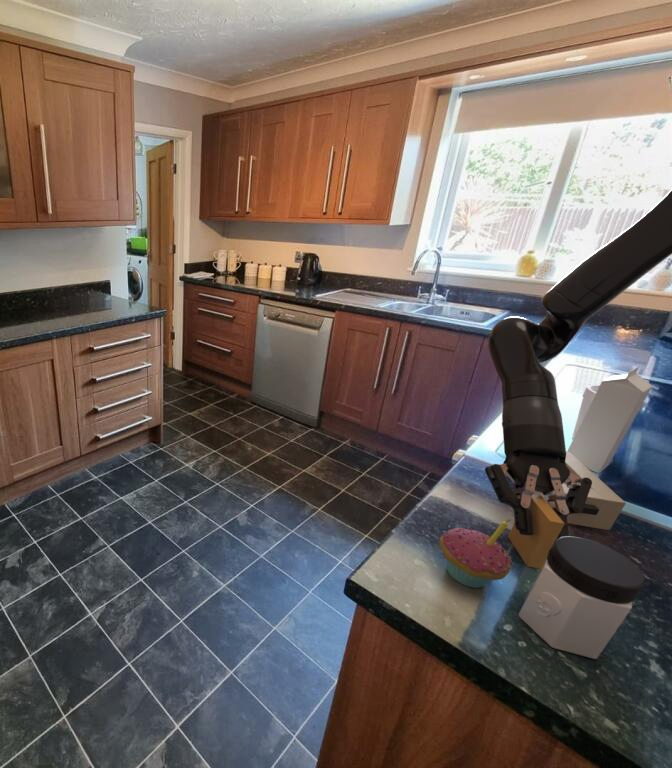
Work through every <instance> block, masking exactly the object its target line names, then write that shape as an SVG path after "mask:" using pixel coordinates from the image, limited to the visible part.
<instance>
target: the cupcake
mask: <svg viewBox="0 0 672 768" xmlns="http://www.w3.org/2000/svg"><path fill="white" fill-rule="evenodd" d="M511 520H512V518H508V519H507V520H503V521H502V522H501V523H500V525H499V526H498V527H497V529H496V530H495V531H494V532H493V533H492V534H491V536H490V535H488V534H487V533H484V532H481V531H478V530H475V529H470V528H467V527H453V528H451V529H449V530H446V531H445V532H443V534H442V535H441V536H440V538H439V541H438V543H439V548H440V550H441V552H442V555H443V557H444V558H445V561H446V571H447V573H448V574H449V576H450V577H451V578H452V579H454V581H456V582H458V583H459V584H461V585H463V586H466V587H469V588H472V589H478V588H482V587H483V586H485V585H486V584H488V583H489V582H490V581H491V580H492V581H493V580H495V581H499V580H503V579H505V578H506V577H507V575H509V573H510V570H511V568H512V566H513V564H512V562H513V559H512V556H510V554H508V551H507V550H506V549H505V547H504V546H502V544H500V543H499V542H498V541H497V540H498V538H499V537H500V536H501V535H502V534H503V532H504V531H505V530H506V528H508V526H509V522H510V521H511Z"/></svg>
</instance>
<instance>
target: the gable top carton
mask: <svg viewBox="0 0 672 768" xmlns="http://www.w3.org/2000/svg"><path fill="white" fill-rule="evenodd" d="M599 386H600V384H588V385H586V387H585V389H584V391H583V393H582V395H581V396H582V399H581V403H580V407H579V410H578V414H577V418H576V421H575V425H574V429H573V432H572V437H571V439H572V440H573V439H574V437H575V435H576V433H577V431H578V429H579V427H580V425H581V423H582V421H583V419H584V417H585V415H586V413H587V411H588V409H589V407H590V404H591V402H592V400H593V398H594V396H595V394H596V392H597V390H598V388H599ZM646 401H647V398H646V399H645V401H644V402H643V404H642V406H641V408H640V410H639V411H638V413H639V412H640V411H641V410H642V409H643V407H644V406H645V404H646Z"/></svg>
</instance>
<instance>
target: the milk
mask: <svg viewBox="0 0 672 768" xmlns="http://www.w3.org/2000/svg"><path fill="white" fill-rule="evenodd" d="M639 368H640V366H639V365H638V366H636V367H634V368H633V369H630V371H629V372H628V373H623V374H622V373H621V374H615V375H611V376H609V377H607V378H605V379H604V380H603V379H602V380H601V382H600V384H599V385H600V386H599V388H598V390H597V392H596V394H595V396H594V398H593V400H592V402H591V404H590V407H589V409H588V411H587V413H586V415H585V417H584V419H583V421H582V423H581V425H580V427H579V429H578V431H577V433H576V435H575V437H574V439H572V441H571V443H570V445H569V447H568V449H567V450H566V452H570V453H571V454H572V455H573V456H575V457H576V458H577V459H578V460H579V461H580V462H581V463H582V464H583V465H584V466H586V467H587V468H588V469H589V470H590V471H591V472H595V473H597V474H601V472H602V471H604V470H605V469H606V468H607V467H608V466H609V465H610V464H611V462H612V461H613V458H614V457H615V455H616V453H617V451H618V450H619V447H620V446H621V444H622V442H623V440H624V439H625V437H626V436H627V433H628V431H629V430H630V428H631V426H632V424H633V423H634V421H635V419H636V418H637V416H638V413H639V412H640V411H641V410H640V408H641V406H642V404H643V402H644V401H645V399H646V400H647V397H648V395H649V393H650V392H651V389H652V388H653V385H652V384H651V383H650V382H648V381H647V380H645V378H643V377H641V375H639V374H638V370H639ZM639 410H640V411H639ZM638 411H639V412H638Z"/></svg>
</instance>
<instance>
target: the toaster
mask: <svg viewBox="0 0 672 768" xmlns="http://www.w3.org/2000/svg"><path fill="white" fill-rule="evenodd" d="M565 463H566V466H567V467H568V469H569V470H570V473H571V474H574V475H576V476H578V477H580V478H589V479H591V481H592V485H591V488H590V491H589V494H588V496H587V499H586V502H585V505H584V508H583V511H582V512H581V513H574V514H569V515H568V516H567V523H568V525H569V524H570V525H575V526H582V527H587V528H593V529H599V530H605V531H610V530H611V529H612V527H613V526H614V524H615V522H616V520H617V519H618V517H619V515H620V514H621V512H622V511H623V509H624V507H625V506H626V502H625V501H624V500H623V499H622V498H621V497H620V496H619V495H617V493H615V491H613V489H611V488H610V487H609V486H608V485H607V484H605V483H604V481H602V480H601V479H600V478H599V477H598V476H597V475H596V474H595V473H593V471H592V470H589V469H588V468H587V467H586V466H584V465H583V464H582V463H581V462H580V461H579V460H578V459H577V458H576V457H575V456H573V455H572V454H571V453H570V452H567V451H566V459H565ZM506 472H507V471H506ZM507 477H508V478H509V480H511V482H512V483H513V484H514V480H513V479H512V478H511V476H510V475H509V474H508V473H507ZM562 487H563V489H564V492H565V495H566V496H567V493H568V491H569V488H568V487H567V481H565V482H564V483H563V484H562ZM552 493H553V492H551V494H552ZM533 495H540V496H541V494H540V492H537V491H534V494H533ZM565 499H566V498H565Z"/></svg>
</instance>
